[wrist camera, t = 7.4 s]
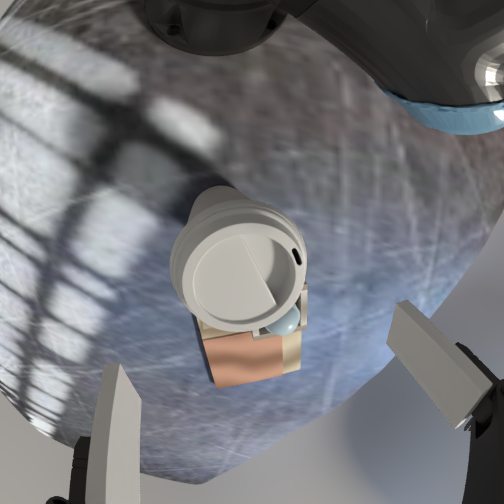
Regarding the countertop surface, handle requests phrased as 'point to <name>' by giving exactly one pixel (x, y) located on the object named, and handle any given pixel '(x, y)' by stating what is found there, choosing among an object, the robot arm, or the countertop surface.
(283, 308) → the coffee cup
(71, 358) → the countertop surface
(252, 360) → the board
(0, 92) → the countertop surface
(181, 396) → the countertop surface
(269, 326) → the dome
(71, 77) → the countertop surface
